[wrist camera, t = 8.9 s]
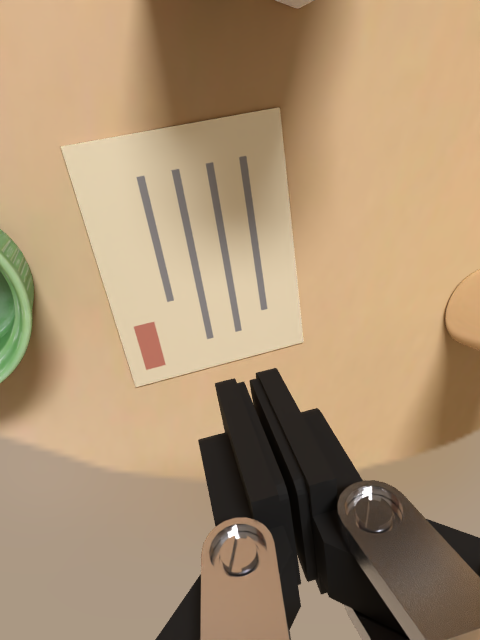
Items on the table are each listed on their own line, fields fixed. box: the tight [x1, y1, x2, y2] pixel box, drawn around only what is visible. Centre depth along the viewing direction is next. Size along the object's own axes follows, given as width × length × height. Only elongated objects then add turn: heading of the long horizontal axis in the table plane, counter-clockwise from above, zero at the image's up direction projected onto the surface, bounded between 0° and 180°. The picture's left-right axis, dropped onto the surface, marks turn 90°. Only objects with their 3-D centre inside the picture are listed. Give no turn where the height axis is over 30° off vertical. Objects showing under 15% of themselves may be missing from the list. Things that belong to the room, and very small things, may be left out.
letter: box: [61, 107, 304, 387], centre depth 25 cm, size 11×14×1 cm
